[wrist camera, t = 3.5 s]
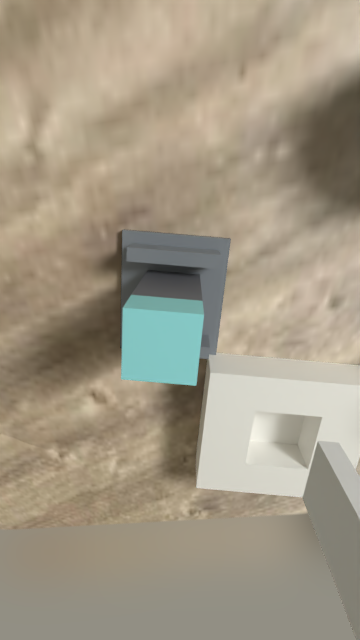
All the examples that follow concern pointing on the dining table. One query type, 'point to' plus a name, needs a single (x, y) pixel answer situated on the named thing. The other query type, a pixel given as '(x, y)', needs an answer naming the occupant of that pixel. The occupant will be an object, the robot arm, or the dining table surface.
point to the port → (273, 421)
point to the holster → (184, 258)
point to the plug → (163, 329)
